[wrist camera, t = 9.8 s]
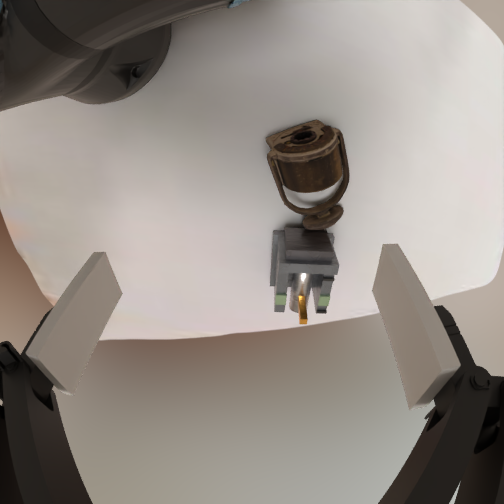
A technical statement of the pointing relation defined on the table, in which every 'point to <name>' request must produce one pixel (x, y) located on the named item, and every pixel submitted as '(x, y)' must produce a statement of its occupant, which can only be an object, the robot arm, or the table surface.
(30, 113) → the table surface
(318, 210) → the brown drum with yoke
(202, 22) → the table surface
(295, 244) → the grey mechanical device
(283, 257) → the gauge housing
